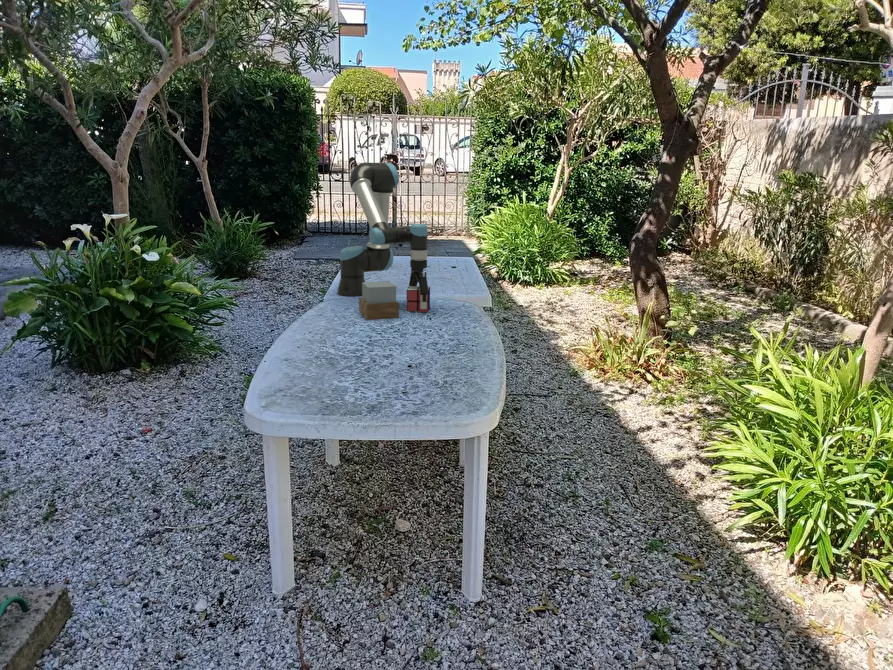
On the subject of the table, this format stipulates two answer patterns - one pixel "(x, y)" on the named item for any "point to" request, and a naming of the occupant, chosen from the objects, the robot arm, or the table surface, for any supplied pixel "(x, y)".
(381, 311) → the walnut block
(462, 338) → the table surface
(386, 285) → the slate block
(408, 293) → the puzzle cube
